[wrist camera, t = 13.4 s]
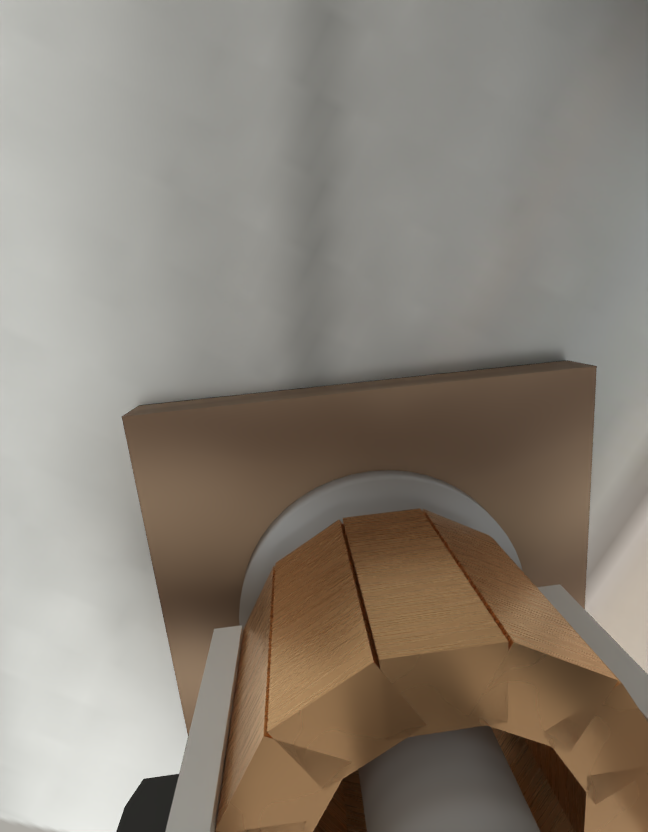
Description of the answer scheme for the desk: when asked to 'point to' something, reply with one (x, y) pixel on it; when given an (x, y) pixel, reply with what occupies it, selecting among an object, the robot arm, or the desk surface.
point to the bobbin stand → (362, 495)
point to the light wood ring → (420, 681)
